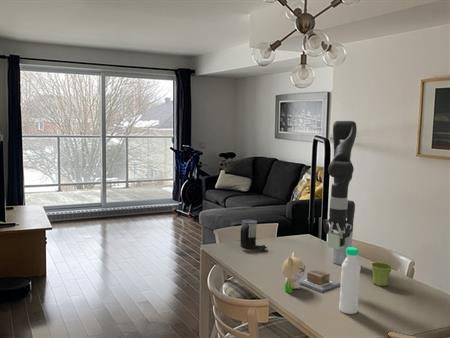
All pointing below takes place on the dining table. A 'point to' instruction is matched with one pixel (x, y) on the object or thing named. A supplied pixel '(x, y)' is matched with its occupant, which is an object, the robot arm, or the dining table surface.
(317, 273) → the walnut base block
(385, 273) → the plant pot
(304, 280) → the plate
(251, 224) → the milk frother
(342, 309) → the water bottle
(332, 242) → the sage block
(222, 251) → the dining table surface
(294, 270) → the kitten
